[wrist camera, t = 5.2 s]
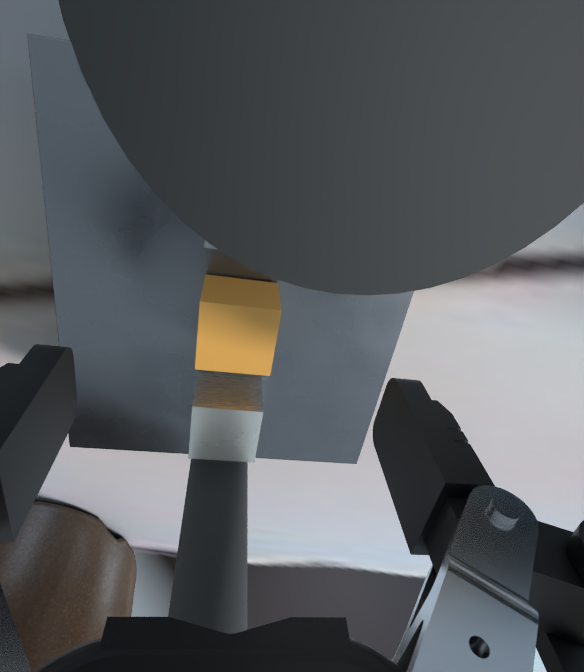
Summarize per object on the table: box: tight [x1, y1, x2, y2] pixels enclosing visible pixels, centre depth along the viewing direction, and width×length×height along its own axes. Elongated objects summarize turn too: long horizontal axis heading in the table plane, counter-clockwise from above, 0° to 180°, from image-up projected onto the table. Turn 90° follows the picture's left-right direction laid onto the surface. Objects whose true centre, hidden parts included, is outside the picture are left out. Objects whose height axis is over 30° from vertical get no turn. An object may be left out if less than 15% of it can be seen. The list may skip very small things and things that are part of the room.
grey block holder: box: [27, 34, 414, 464], centre depth 16 cm, size 12×14×6 cm
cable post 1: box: [168, 459, 247, 634], centre depth 17 cm, size 5×10×16 cm, turn 170°
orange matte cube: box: [195, 274, 282, 376], centre depth 15 cm, size 2×2×2 cm
